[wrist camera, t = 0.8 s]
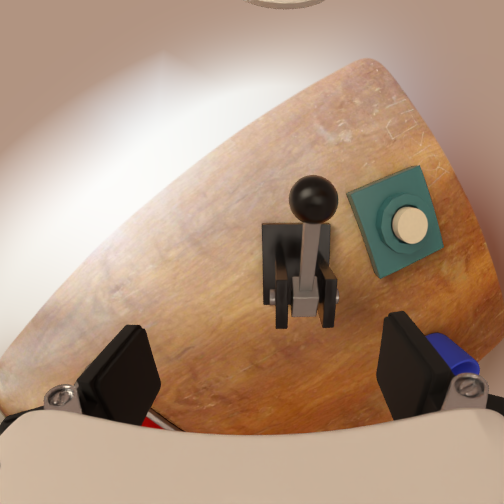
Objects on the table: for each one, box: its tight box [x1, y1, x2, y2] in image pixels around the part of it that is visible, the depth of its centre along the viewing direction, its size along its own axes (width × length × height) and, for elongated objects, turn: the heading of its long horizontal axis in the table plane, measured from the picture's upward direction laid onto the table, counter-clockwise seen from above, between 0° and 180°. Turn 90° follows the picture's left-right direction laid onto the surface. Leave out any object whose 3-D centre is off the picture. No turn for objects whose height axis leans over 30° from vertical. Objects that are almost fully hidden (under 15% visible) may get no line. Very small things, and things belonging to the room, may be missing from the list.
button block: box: [346, 165, 444, 279], centre depth 32 cm, size 11×10×4 cm
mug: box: [425, 333, 480, 376], centre depth 33 cm, size 8×12×10 cm
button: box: [392, 207, 428, 244], centre depth 29 cm, size 4×4×2 cm
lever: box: [289, 175, 338, 317], centre depth 22 cm, size 13×3×3 cm
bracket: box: [262, 223, 339, 329], centre depth 30 cm, size 10×8×13 cm
